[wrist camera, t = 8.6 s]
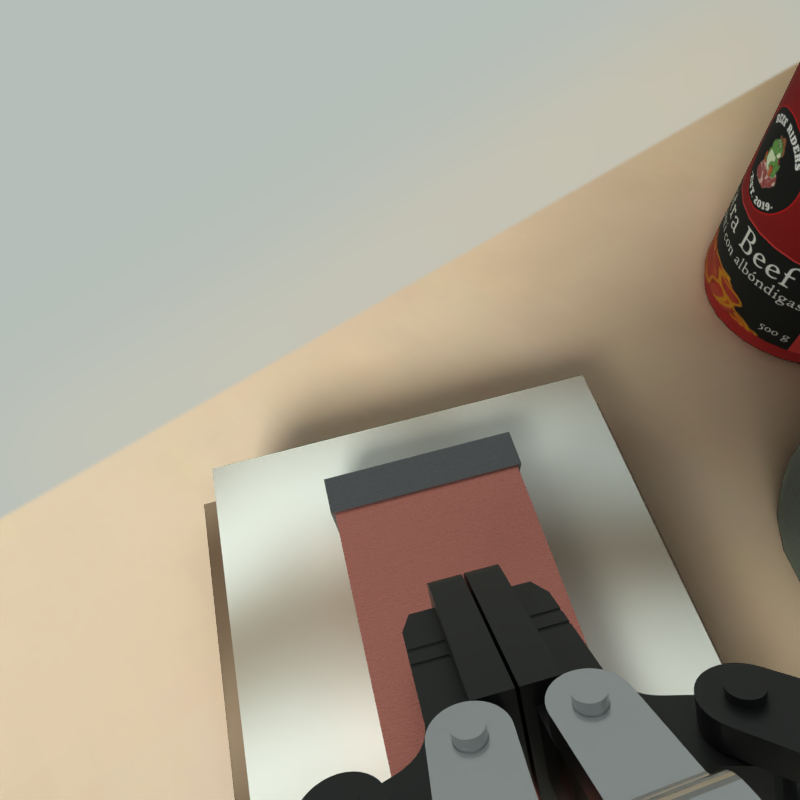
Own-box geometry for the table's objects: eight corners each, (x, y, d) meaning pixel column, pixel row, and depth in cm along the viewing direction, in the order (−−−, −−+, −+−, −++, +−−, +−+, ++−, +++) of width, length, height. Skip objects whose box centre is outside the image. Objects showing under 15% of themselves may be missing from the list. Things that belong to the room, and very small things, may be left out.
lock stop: (777, 1117, 11) (509, 431, 18) (479, 1223, 10) (323, 479, 17) (737, 1076, 12) (504, 460, 19) (475, 1167, 12) (333, 504, 19)
